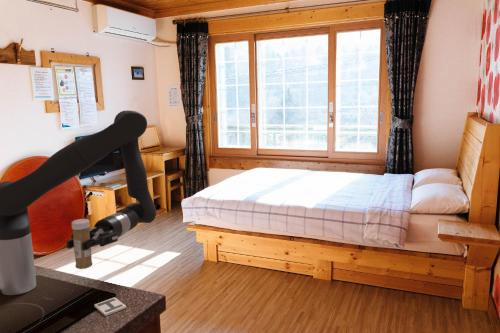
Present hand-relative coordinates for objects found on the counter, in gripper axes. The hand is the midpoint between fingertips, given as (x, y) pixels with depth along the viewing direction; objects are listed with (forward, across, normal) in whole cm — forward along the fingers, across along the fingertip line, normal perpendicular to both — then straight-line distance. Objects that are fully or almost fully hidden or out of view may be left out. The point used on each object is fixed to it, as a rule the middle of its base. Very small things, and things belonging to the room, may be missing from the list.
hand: (75, 246), depth 109 cm
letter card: (-1, +9, +17) cm, 20 cm away
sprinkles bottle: (-3, 0, +7) cm, 8 cm away
